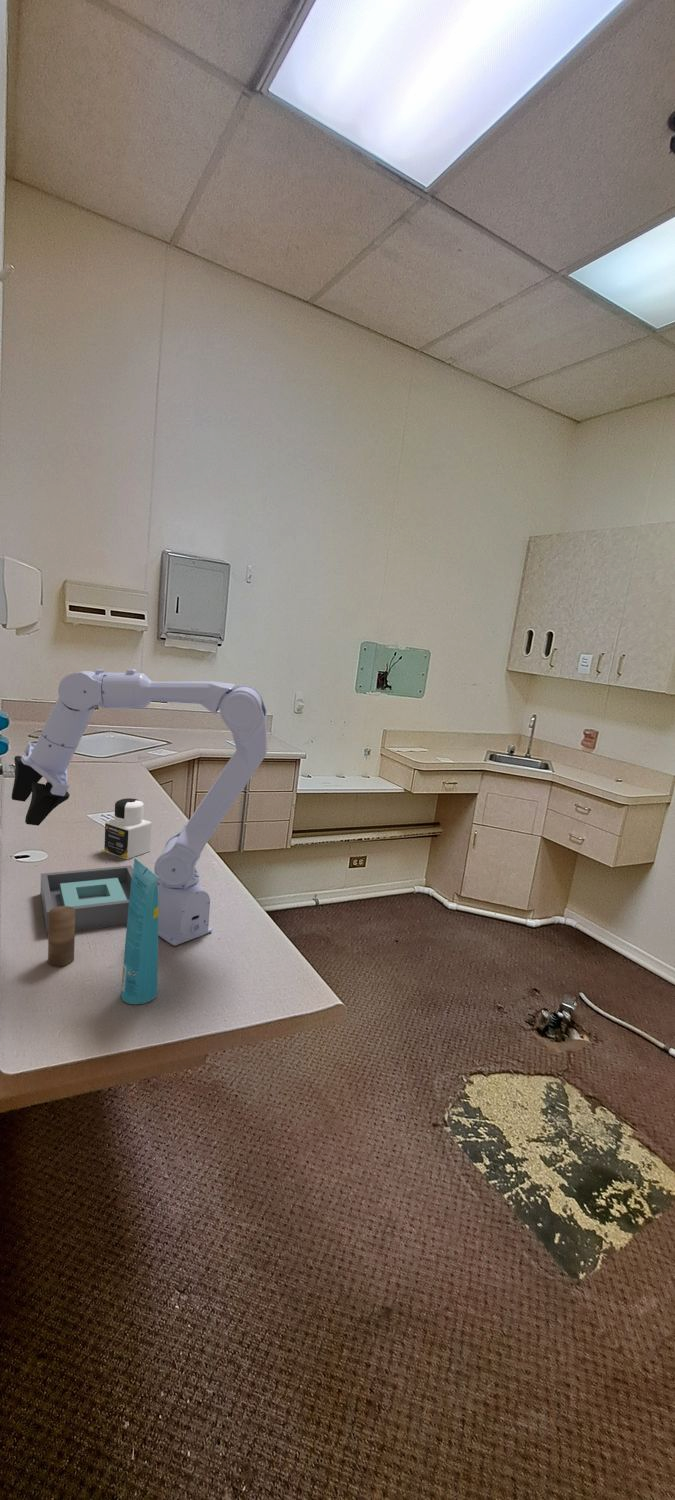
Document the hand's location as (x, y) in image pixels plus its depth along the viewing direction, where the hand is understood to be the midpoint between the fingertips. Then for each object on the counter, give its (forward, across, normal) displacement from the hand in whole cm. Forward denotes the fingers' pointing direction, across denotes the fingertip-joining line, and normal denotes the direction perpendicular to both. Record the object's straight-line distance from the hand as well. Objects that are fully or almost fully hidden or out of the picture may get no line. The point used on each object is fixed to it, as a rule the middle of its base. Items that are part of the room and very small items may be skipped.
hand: (24, 811), depth 98 cm
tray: (+14, +6, +16) cm, 22 cm away
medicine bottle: (+14, -15, +33) cm, 39 cm away
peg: (+14, +20, +5) cm, 25 cm away
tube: (+8, +34, +10) cm, 36 cm away
